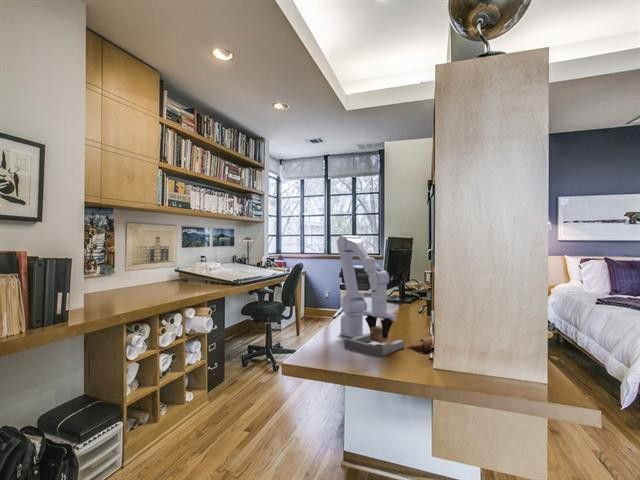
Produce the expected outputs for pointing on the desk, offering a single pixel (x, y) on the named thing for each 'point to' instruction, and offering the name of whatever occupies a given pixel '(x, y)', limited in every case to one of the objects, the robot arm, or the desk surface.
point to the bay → (372, 346)
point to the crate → (377, 334)
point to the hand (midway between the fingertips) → (379, 336)
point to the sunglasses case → (421, 345)
